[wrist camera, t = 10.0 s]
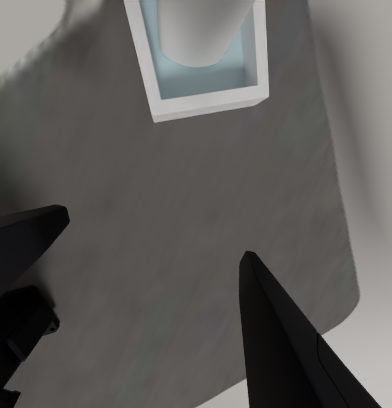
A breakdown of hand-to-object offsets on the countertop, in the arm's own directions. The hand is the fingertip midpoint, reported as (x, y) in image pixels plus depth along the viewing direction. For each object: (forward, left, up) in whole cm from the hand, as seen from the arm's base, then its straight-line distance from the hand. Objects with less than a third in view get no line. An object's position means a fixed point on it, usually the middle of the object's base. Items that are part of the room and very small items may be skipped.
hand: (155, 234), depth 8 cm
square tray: (+6, +12, -10) cm, 17 cm away
